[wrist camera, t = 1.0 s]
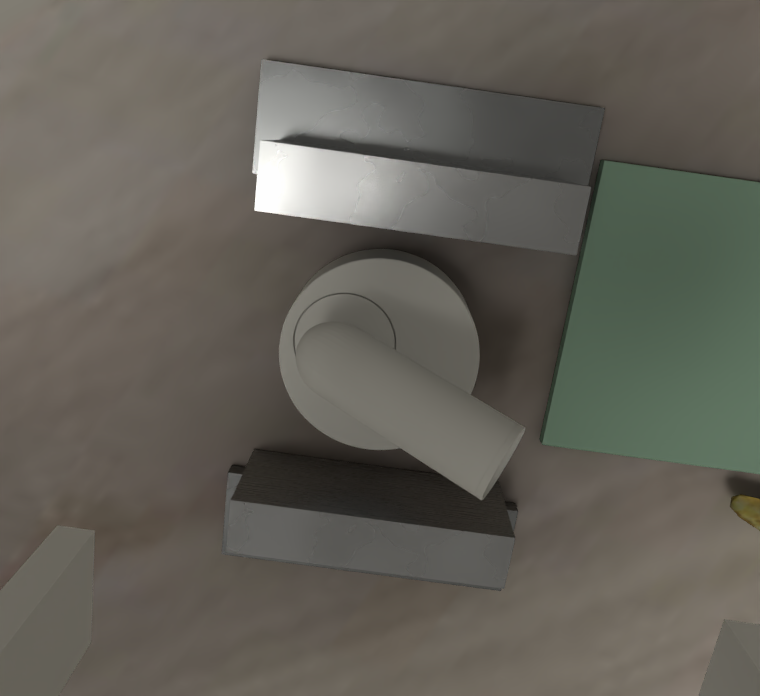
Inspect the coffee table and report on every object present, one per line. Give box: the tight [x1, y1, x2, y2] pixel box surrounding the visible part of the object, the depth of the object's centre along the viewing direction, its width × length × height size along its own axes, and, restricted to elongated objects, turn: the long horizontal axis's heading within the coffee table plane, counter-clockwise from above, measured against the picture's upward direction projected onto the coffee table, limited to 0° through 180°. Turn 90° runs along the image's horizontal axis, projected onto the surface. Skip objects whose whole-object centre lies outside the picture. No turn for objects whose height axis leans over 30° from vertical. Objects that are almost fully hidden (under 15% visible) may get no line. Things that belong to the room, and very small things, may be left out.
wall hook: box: [279, 249, 526, 500], centre depth 28 cm, size 9×10×10 cm
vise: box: [222, 59, 605, 591], centre depth 30 cm, size 14×23×5 cm, turn 172°
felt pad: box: [540, 160, 760, 474], centre depth 32 cm, size 13×13×1 cm
